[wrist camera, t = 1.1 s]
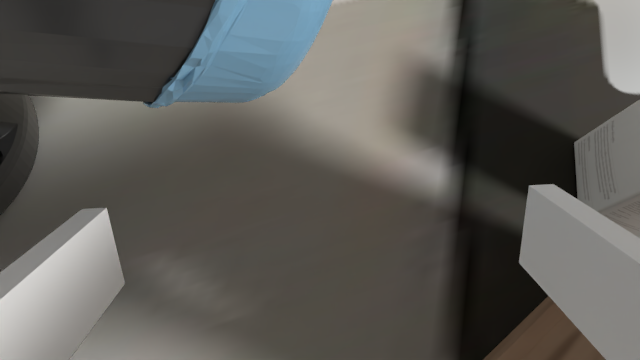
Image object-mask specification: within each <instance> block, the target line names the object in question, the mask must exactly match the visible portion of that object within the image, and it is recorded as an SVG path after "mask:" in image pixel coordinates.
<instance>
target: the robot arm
mask: <svg viewBox="0 0 640 360" xmlns="http://www.w3.org/2000/svg"><path fill="white" fill-rule="evenodd" d="M332 1H333V0H0V215H1V214H2V213H3V212H4V210H5V209H6V208H7V207H8V206H9V205H10V204H11V202H12V201H13V200H14V199H15V197H16V196H17V195H18V193H19V192H20V190H21V189H22V187H23V185H24V184H25V182H26V180H27V178H28V176H29V174H30V172H31V170H32V167H33V164H34V161H35V158H36V154H37V149H38V141H39V127H38V120H37V115H36V112H35V109H34V106H33V103H32V101H31V99H30V97H29V96H28V95H35V96H53V97H70V98H88V99H106V100H124V101H141V102H143V104H144V105H146V106H147V107H152V108H159V107H160V106H168V105H171V104H172V103H174V102H230V103H241V102H248V101H251V100H254V99H257V98H259V97H260V96H264V95H265V94H266V93H268V92H270V91H273V90H275V89H277V88H278V87H279V86H281V85H282V84H283V83H284V82H285V81H286V80H287V79H288V78H289V77H290V76H291V75H292V74H293V72H294V71H295V70H296V69H297V67H298V66H299V64H300V63H301V62H302V60H303V59H304V57H305V56H306V54H307V52H308V51H309V49H310V47H311V45H312V44H313V42H314V40H315V38H316V36H317V34H318V32H319V30H320V28H321V26H322V24H323V22H324V19H325V17H326V15H327V13H328V10H329V8H330V6H331V3H332ZM519 264H520V265H521V266H522V267H523V268H524V269H525V270H526V271H527V272H528V274H529V275H530V276H531V277H532V278H533V279H534V280H535V281H536V282H537V284H538V285H539V286H540V287H541V288H542V289H543V290H544V291H545V292H546V294H547V295H548V296H549V297H550V298H551V299H552V300H553V301H554V302H555V304H556V305H557V306H558V307H559V308H560V309H561V310H562V311H563V312H564V314H565V315H566V316H567V317H568V318H569V319H570V320H571V321H572V322H573V324H574V325H575V326H576V327H577V328H578V329H579V330H580V331H581V332H582V334H583V335H584V336H585V337H586V338H587V339H588V340H589V341H590V342H591V344H592V345H593V346H594V347H595V348H596V349H597V350H598V351H599V353H600V354H601V355H602V356H603V357H604V358H605V359H606V360H640V238H638V237H637V236H635V235H634V234H632V233H630V232H629V231H627V230H626V229H624V228H622V227H621V226H619V225H618V224H616V223H614V222H613V221H611V220H610V219H608V218H607V217H605V216H603V215H602V214H600V213H599V212H597V211H595V210H594V209H592V208H591V207H589V206H587V205H586V204H584V203H583V202H581V201H580V200H578V199H576V198H575V197H573V196H572V195H570V194H568V193H567V192H565V191H564V190H562V189H560V188H559V187H557V186H556V185H554V184H546V185H529V189H528V196H527V204H526V212H525V219H524V227H523V235H522V242H521V250H520V258H519ZM124 285H125V281H124V277H123V273H122V269H121V265H120V261H119V256H118V252H117V248H116V244H115V240H114V236H113V232H112V228H111V223H110V219H109V215H108V211H107V208H91V209H81V210H80V211H79V212H77V213H76V214H75V215H74V216H72V217H71V218H70V219H68V220H67V221H66V222H64V223H63V224H62V225H61V226H59V227H58V228H57V229H55V230H54V231H53V232H52V233H50V234H49V235H48V236H46V237H45V238H44V239H43V240H41V241H40V242H39V243H37V244H36V245H35V246H34V247H32V248H31V249H30V250H28V251H27V252H26V253H25V254H23V255H22V256H21V257H19V258H18V259H17V260H16V261H14V262H13V263H12V264H10V265H9V266H8V267H7V268H5V269H4V270H3V271H1V272H0V360H69V359H70V358H71V357H72V355H73V354H74V353H75V351H76V350H77V348H78V347H79V346H80V344H81V343H82V342H83V340H84V339H85V338H86V336H87V335H88V334H89V332H90V331H91V329H92V328H93V327H94V325H95V324H96V323H97V321H98V320H99V319H100V317H101V316H102V314H103V313H104V312H105V310H106V309H107V308H108V306H109V305H110V304H111V302H112V301H113V300H114V298H115V297H116V295H117V294H118V293H119V291H120V290H121V289H122V287H123V286H124Z"/></svg>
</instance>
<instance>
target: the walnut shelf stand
mask: <svg viewBox="0 0 640 360" xmlns="http://www.w3.org/2000/svg"><path fill="white" fill-rule="evenodd" d="M483 360H606V359H605V358H604V357H603V356H602V355H601V354H600V353H599V351H598V350H597V349H596V348H595V347H594V346H593V345H592V344H591V342H590V341H589V340H588V339H587V338H586V337H585V336H584V335H583V334H582V332H581V331H580V330H579V329H578V328H577V327H576V326H575V325H574V324H573V322H572V321H571V320H570V319H569V318H568V317H567V316H566V315H565V314H564V312H563V311H562V310H561V309H560V308H559V307H558V306H557V305H556V304H555V302H554V301H553V300H552V299H551V298H550V297H549V296H548V297H547V298H546V299H545V300H544V301H543V302H542V303H541V304H540V305H539V306H537V307H536V308H535V309H534V310H533V311H532V312H531V313H530V314H529V315H528V316H527V317H526V318H525V319H524V320H523V321H522V322H521V323H520V324H519V325H518V326H517V327H516V328H515V329H514V330H513V331H512V332H511V333H510V334H509V335H508V336H507V337H506V338H505V339H504V340H503V341H502V342H501V343H499V344H498V345H497V346H496V347H495V348H494V349H493V350H492V351H491V352H490V353H489V354H488V355H487V356H486V357H485V358H484V359H483Z"/></svg>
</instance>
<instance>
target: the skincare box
mask: <svg viewBox="0 0 640 360" xmlns="http://www.w3.org/2000/svg"><path fill="white" fill-rule="evenodd" d="M574 151H575V166H576V183H577V199H578V200H580V201H581V202H583V203H584V204H586V205H587V206H589V207H591V208H592V209H594V210H595V211H597V212H599V213H600V214H602V215H603V216H605V217H607V218H608V219H610V220H611V221H613V222H614V223H616V224H618V225H619V226H621V227H622V228H624V229H626V230H627V231H629V232H630V233H632V234H634V235H635V236H637V237H638V238H640V100H638V101H637V102H635V103H634V104H632V105H631V106H629V107H628V108H626V109H625V110H623V111H622V112H620V113H618V114H617V115H615V116H614V117H612V118H611V119H609V120H608V121H606V122H605V123H603V124H602V125H600V126H599V127H597V128H596V129H594V130H593V131H591V132H590V133H588V134H587V135H585V136H583V137H582V138H581V139H579V140H577V141H576V142H574Z"/></svg>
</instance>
